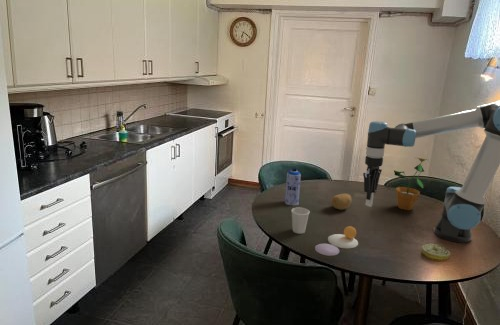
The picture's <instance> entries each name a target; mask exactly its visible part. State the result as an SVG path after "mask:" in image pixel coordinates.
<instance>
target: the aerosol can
mask: <svg viewBox="0 0 500 325" xmlns="http://www.w3.org/2000/svg"><path fill="white" fill-rule="evenodd" d="M301 177H302V175H301V172H300V171H298V170H297V167H292V168H291V169H290V170H289V171H287V173H286V180H285V182H286V183H285V184H286V185H285V194H284V196H285V197H284V203H286V204H285V205H288V206H298V205H299V204H300V203H299V201H300V200H299V199H300V191H301V190H300V188H301V179H302V178H301Z"/></svg>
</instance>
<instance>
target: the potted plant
mask: <svg viewBox="0 0 500 325" xmlns="http://www.w3.org/2000/svg"><path fill="white" fill-rule="evenodd" d="M414 159H416V157H415V156H414ZM417 159H418V161H420V163H419V164H417V165H416V166H414V169H415V170H416V172H415V173H414V174H413V176H412V177H411V179H410V180H409V179H408V178H407V176H406V174H405V171H402V170H401V171H399V170H394V169H393V172H394V176H396V177H399V178H402V179H406V180H407V182H408V186H397V187H395V194H396V202H397V207H398V208H399V209H401V210H403V209H404V210H405V211H412V209H413V208H414V206H415V204H416V201H417V199H418V197H419V195H420V193H421V191H420V190H418V189H416V188H414V187H413V188H412V187H410V185H411V183H412V180H413V179H415V181H414V183H415V184H416V185H418V186H419V187H421V188H422V189H424V188H425V185H426V182H424V181H423V180H421V179H419V176H420V175H421V173H424V172H425V170H424V168H423V165H422V164H423V162H424V161H428V159H425V158H420V157H417ZM418 172H419V173H418ZM401 173H402V174H401ZM417 173H418V175H417V177H416V176H415V175H416V174H417ZM403 174H404V175H403Z"/></svg>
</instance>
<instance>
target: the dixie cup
mask: <svg viewBox="0 0 500 325" xmlns="http://www.w3.org/2000/svg"><path fill="white" fill-rule="evenodd" d="M290 210H291V223H292V224H291V225H292V231H293V233H295V234H297V235H298V234H299V235H300V234H305V232H306V228H307V224H308V219H309V215H310V213H311V211H310V210H309V209H308V208H305V207H301V206H300V207H299V206H298V207H297V206H296V207H293V208H292V209H290Z"/></svg>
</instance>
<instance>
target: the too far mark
mask: <svg viewBox="0 0 500 325" xmlns="http://www.w3.org/2000/svg"><path fill="white" fill-rule="evenodd" d="M314 250H315V252H317V253H318V254H321V255H323V256H329V257H333V256H337V255H339V253H340V248H339V247H337V246H334V245H332V244H331V243H319V244H317V245H315V246H314Z"/></svg>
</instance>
